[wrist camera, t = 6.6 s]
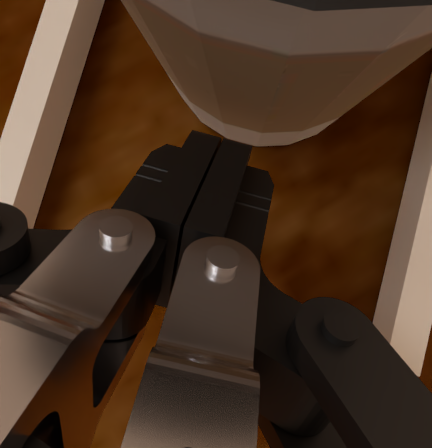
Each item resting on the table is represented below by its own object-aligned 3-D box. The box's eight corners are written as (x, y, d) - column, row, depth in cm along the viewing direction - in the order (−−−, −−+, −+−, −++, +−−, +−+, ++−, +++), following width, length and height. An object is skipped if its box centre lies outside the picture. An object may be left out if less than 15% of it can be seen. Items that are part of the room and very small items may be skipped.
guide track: (-5, 249, 17) (-132, 242, 11) (141, -203, 19) (100, -424, 13) (395, 362, 16) (497, 421, 10) (506, -123, 18) (649, -320, 12)
